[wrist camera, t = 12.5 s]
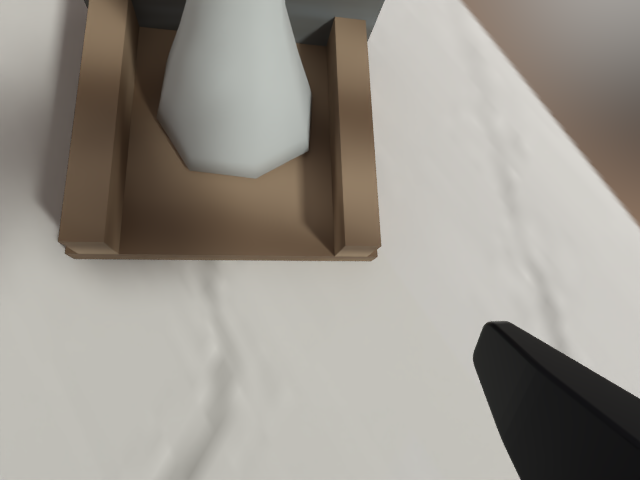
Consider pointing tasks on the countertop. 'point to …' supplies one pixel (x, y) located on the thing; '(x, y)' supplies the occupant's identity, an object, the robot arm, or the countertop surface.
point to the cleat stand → (208, 188)
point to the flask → (235, 88)
